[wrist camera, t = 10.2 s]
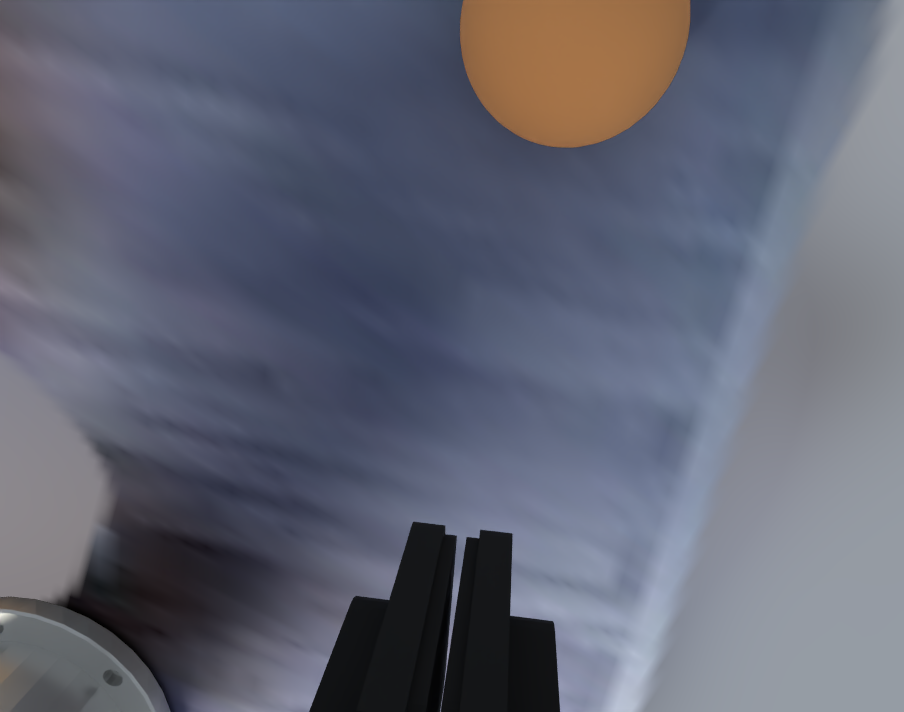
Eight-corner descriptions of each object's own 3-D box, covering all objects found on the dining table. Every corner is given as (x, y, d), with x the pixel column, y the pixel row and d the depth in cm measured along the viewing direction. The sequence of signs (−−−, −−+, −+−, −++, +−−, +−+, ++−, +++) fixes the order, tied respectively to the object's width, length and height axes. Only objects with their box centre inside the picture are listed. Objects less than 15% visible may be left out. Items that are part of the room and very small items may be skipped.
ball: (577, -153, 18) (517, 59, 23) (436, -136, 15) (399, 110, 19) (773, -64, 16) (666, 146, 21) (666, -20, 13) (565, 220, 17)
